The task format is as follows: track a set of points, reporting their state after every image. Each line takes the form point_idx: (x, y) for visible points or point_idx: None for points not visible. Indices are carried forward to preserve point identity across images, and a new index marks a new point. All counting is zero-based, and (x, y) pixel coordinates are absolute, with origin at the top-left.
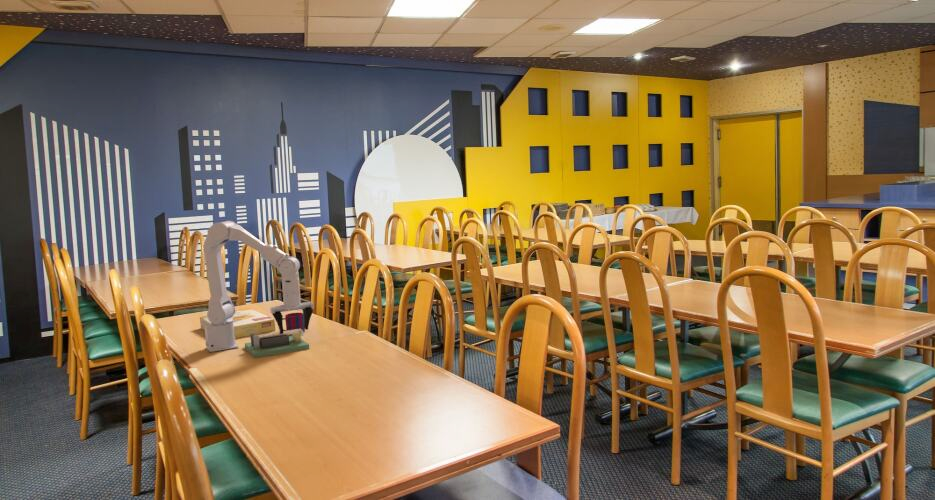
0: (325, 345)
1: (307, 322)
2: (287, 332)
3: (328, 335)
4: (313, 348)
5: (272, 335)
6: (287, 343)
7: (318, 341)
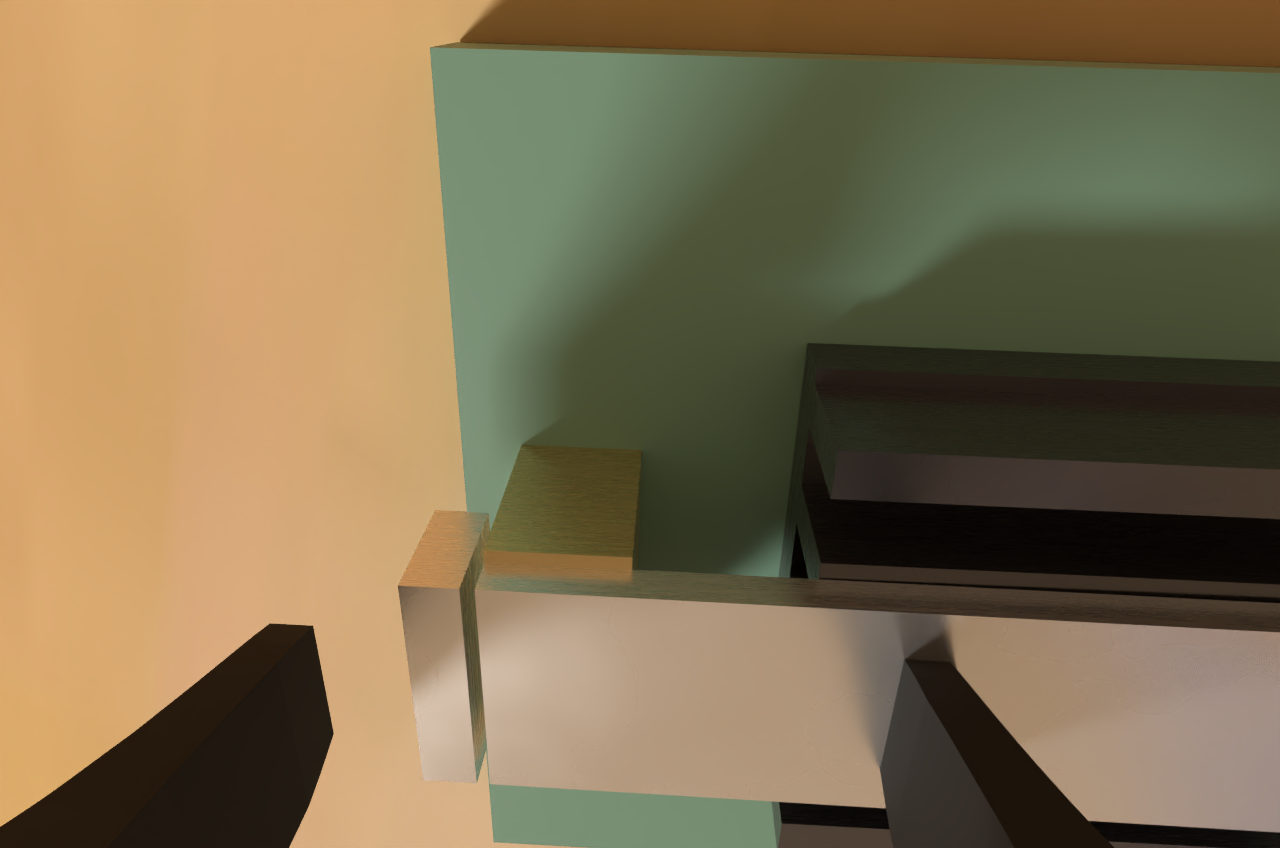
0: (88, 85)
1: (159, 748)
2: (799, 647)
3: (22, 698)
4: (366, 6)
5: (1220, 623)
6: (860, 355)
7: (205, 474)
